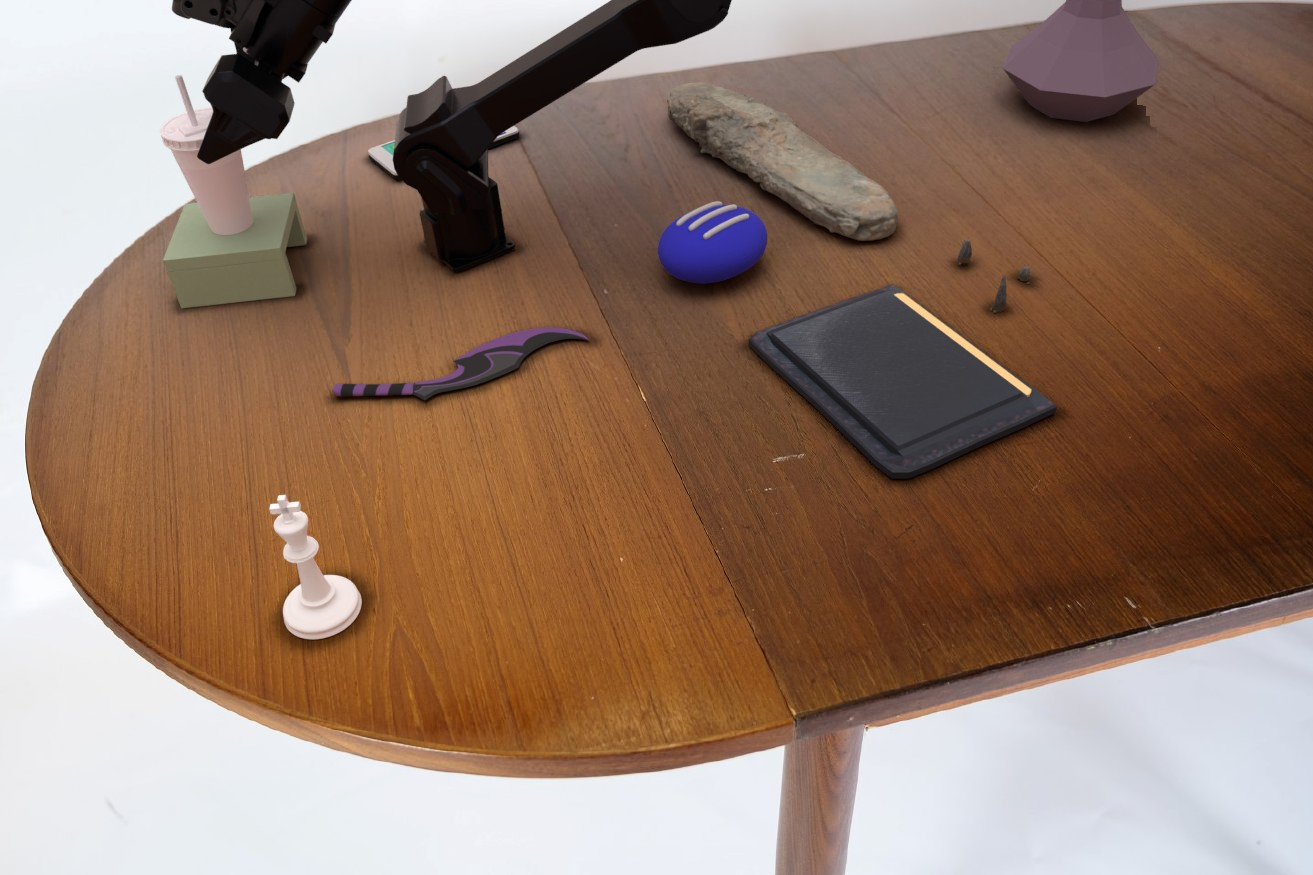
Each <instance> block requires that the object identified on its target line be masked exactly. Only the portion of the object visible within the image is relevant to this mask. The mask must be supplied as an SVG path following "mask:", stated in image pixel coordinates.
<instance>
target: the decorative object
mask: <svg viewBox="0 0 1313 875" xmlns="http://www.w3.org/2000/svg"><path fill="white" fill-rule="evenodd" d="M767 245H768V232H767V228H766V225H765V223H764V221H762V219H761V217H759V215H757V214H756V213H754V212H753V211H751V210H749V209H747V208H745V207H743V206H738V205H737V204H723V202H722V201H719V200H718V201H712V202H709V203H707V204H704V205H702V206H700V207H698V208H695V209H693V210H690V211H689V212H686V213H684V214H683V215H681V216H679V217H677V218H676V219H674V221H672V222H671V223H670V224H669V225H667V227H666V228H665V229H664V230H663V232H662V233H661V235H660V238H659V240H658V244H657V256H658V259H659V260H658V261H659V262H660V264H661V266H662V267H663V268H664V270H665V271H666V272H667V273H668V274H669V275H671V276H672V277H674V278H676V279H678V280H681V281H685V282H687V283H694V284H714V283H719V282H724V281H726V280H729V279H732V278H734V277H737V276H739V275H741V274H743V273H745V272H746V271H748V270H750V269H751V268H752V267H753V266H754V265H755V264H757V262H758V261H760V259H761V258H762V256H763V255H764V253H765V251H766V248H767Z"/></svg>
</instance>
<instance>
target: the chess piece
mask: <svg viewBox="0 0 1313 875" xmlns="http://www.w3.org/2000/svg"><path fill="white" fill-rule="evenodd" d="M276 502H277V503H270V504H269V508H268V509H269V512H270V515H278V516H277V517H276V518H275V519H274V522H273V530H274V531H275V533H276V534H277V535H278V536H279V537H280V538H281V539H283V541H284V542H285V543H286V544H285V545H284V546H283V553H282V555H283V558H284V560H285V561H287V562H289V563H292V564H296V567H297V572H298V576H299V577H298V578H299V582H300V583H299V584H298V585H296V586H295V588H293V589H292V591H290V593H289V594H288V595H287V597H286V598H285V601H284V603H283V606H282V616H283V622H284V625H285V627H286V629H287V631H289V632H290V633H291V634H292V635H294V636H295V637H298V638H301V639H304V640H321V639H326V638H330V637H332V636H335V635H337V634H339V633H341V632H343V631H344V630H346V629H347V628H348V627H350V626H351V625H352V624H353V623H354V622H355V620H356V619H357V618H358V616H359V614H360V612H361V609H362V605H363V604H362V603H363V601H362V596H361V595H362V594H361V593H360V591H359V590H358V587H357V586H356V585H355V583H354V582H353V581H351V579H349V578H347V577H345V576H341V575H337V574H323V572H322V571H321V569H320V566H318V563H317V562H316V560H315V559H314V557H315V556H316V555H317V554H318V553H319V552H318V551H319V549H320V545H319V542H318V541H317V540H316V538H314V537H312V536H311V535H308V528H309V517H308V515H307V514H306V512H305V511H302V510H301V509H302V505H301V502H300V501H289V499H288V497H287V494H280V495H278V496H277V499H276Z"/></svg>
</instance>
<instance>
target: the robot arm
mask: <svg viewBox="0 0 1313 875" xmlns="http://www.w3.org/2000/svg"><path fill="white" fill-rule="evenodd" d="M352 1H353V0H172V4H171V12H173V14H175V15H176V16H178V17H180V18H183V19H186V20H190V19H192V20H196V21H199V22H202V23H206V24H209V25H214V26H217V27H219V28H224V29H230V35H229V37H228V39H229V40H230V41H231V42H232V43H233V44H234V48H235V52H236V53H232V54H231V53H230V54H222V55H220V58H219V59H218V60H217V62H216V64H215V65H214V67H213V68H212V70H211V72H210V74H209V75H208V77H207V78H206V81H205V84H204V86H203V88H202V90H201V91H202V93H203V96H204V99H205V100H206V101H207V102H208V103H209V104H210V106H211V107H210V108H212V109H213V114H212V117H211V119H210V122H209V125H208V127H207V130H206V133H205V136H204V138H203V141H202V144H201V146H200V149H199V152H198V154H197V158H198V159H200V160H201V161H203V162H205V163H206V164H211V163H213V162H215V161H217V160H219V159H221V158H223V157H226V156H228V155H230V154H232V153H234V152H236V151H238V150H240V149H241V150H242V149H245V148H247V147H249V146H251V145H254V144H256V143H258V142H261V141H263V140H265V139H266V140H271V139H273V140H274V139H275V140H278V139H279V137H280V136H281V135H282V134H283V131H284V130H285V129H286V127H287V126H288V125H289V123H290V121H291V118H292V114H293V112H294V111H293V110H294V108H295V99H294V96H293V93H292V89H291V87H290V86H288V85H287V84H286V83H283V80H284V79H285V78H287V77H289V78H291V79H292V80H294V81H295V82H297V83H300V82H301V80H302V79H303V77H304V76H305V75H306V72H307V69H308V65H309V63H310V61H311V59H312V58H313V57H314V56H315V54H316V53H317V51H318V50H319V48H320V47H321V45H322V44H323V43H324V44H327V43H328V42H329V40H330V39H331V38H332V36H333V35H334V31H335V28H336V24H337V22H338V21H339V19H340V18H341V16H343V14H344V13H345V11H346V9H347V8H348V7H349V5H350V4H351V3H352ZM732 1H733V0H608V1H607V2H605V3H604V4H602V5H601V6H600V7H598V8H596V9H595V10H593V11H592V12H590V13H588V14H587V15H584V17H581V18H579V20H577V21H575V22H574V23H572V24H570V25H569V26H567V27H566V28H564V29H562V30H561V31H559V32H557V33H556V34H554V35H553V36H551V37H550V38H548V39H546V40H545V41H543V42H542V43H540V44H539V45H537V46H536V47H533V48H532V49H530V50H529V51H526V52H525V53H524V54H522V55H521V56H519V57H518V58H516V59H514V60H513V61H511V62H509V63H508V64H506V65H505V66H503V67H501V68H500V69H498V70H497V71H495V72H494V73H492V74H490V75H488V76H487V77H485V78H484V79H482V80H480V81H479V82H477V83H475V84H472V85H467V86H462V87H455V88H454V87H452V84H451V83H450V81H449V79H448V76H446V75H441V77H439V78H438V79H436V80H435V81H434V82H433V83H432V84H431V85H430V86H429V87H428V88H426V89H425V90H423V91H421V92H418V93H415V94H409V95H407V98H406V105H405V106H406V107H404V108H403V109H402V110H401V111H400V113H399V114H398V118H397V121H396V129H395V136H394V140H395V144H394V152H393V164H394V169H395V171H396V173H397V174H398V176H399V178H400V179H401V180H400V181H402V182H403V183H404V184H405V185H407V186H408V187H410V188H412V189H414V190H416V191H417V193H418V194H419V195H420V198H421V202H422V207H423V209H421V210H420V211H419V219H420V224H421V227H422V234H423V237H424V240H423V245H424V247H425V248H426V250H427V251H428V252H429V253H430V254H432V256H434V257H435V258H436V259H437V260H439V261H441V262H442V263H443V264H444V265H445V266H447V267H448V268H449V269H450V270H451V271H452V272H454V273H459V272H462V271H465V270H468V269H470V268H472V267H474V266H477V265H480V264H482V263H484V262H487V261H490V260H492V259H495V258H497V257H499V256H502V255H504V254H507V253H510V252H512V251H514V250H515V249H516V243H515V241H513V240H511V239H510V238H509V237H508V236H507V235H506V230H505V223H504V217H503V211H502V205H501V198H500V192H499V185H498V184H499V183H498V182H497V181H496V180H494V179H492V178H491V177H490V176H489V149H490V148H489V146H490V145H491V144H492V143H493V141H494V140H495V139H496V138H497V137H498V136H499V135H500V134H501V133H503V132H504V131H506V130H508V129H509V128H511V127H513V126H516V125H518V124H519V123H521V122H523V121H525V120H526V119H527V118H530V117H531V116H533V115H534V114H535V113H538V112H539V111H541V110H543V109H544V108H546V107H547V106H549V105H551V104H552V103H554V102H556V101H557V100H559V99H561V98H562V97H564V96H566V95H567V94H568V93H570V92H573V91H574V90H575V89H577V88H579V87H581V86H582V85H584V84H586V83H587V82H588V81H590V80H591V79H593V78H595V77H597V76H598V75H600V74H602V73H603V72H605V71H606V70H608V69H609V68H612V67H613V66H615V65H616V64H619V63H620V62H622V61H623V60H625V59H626V58H628V57H629V56H632V55H633V54H634V53H636V52H638V51H641V50H644V49H649V48H657V47H663V46H669V45H676V44H679V43H681V42H684V41H686V40H690V39H691V38H693V37H696V36H699V35H702V34H704V33H706V32H709V31H711V30H712V29H715V28H716V27H718V25H720V24H721V23H722V22H724V20H725V19H726V17H727V16H728V14H729V10H730V7H731V4H732Z"/></svg>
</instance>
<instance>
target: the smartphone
mask: <svg viewBox="0 0 1313 875" xmlns="http://www.w3.org/2000/svg"><path fill="white" fill-rule="evenodd" d="M519 137H520V129H519V128H518V127H517V126H516V125H514V126H513V127H511V128H509V129H508V130H506V131H504V132H503V133H501V134H500V135H499V136H498V137H497V138H496V139H495V140H494V141H493V143H492V144H491V145H490V146H489V148H488V149H491V148H493V147H496V146H500V145H502V144H504V143H507V142H510V141H513V140H515V139H516V140H517V139H519ZM394 144H395V139H393V140H391V141H388V142H385V143H382V144H379V145H376V146H373V147H370V148H369V149H368V150H367V157H368V158H369V159H370V160H371V161H372V162H373V163H374V164H376V165H377V166H378V167H380V169H382V170H383V171H384V172H386V174H388V175H389V176H391V177H392V178H393V179H394V180H397V181H402V180H401V179H400V178H399V176H398V174H397V173H396V171H395V169H394V164H393V152H394Z"/></svg>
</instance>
